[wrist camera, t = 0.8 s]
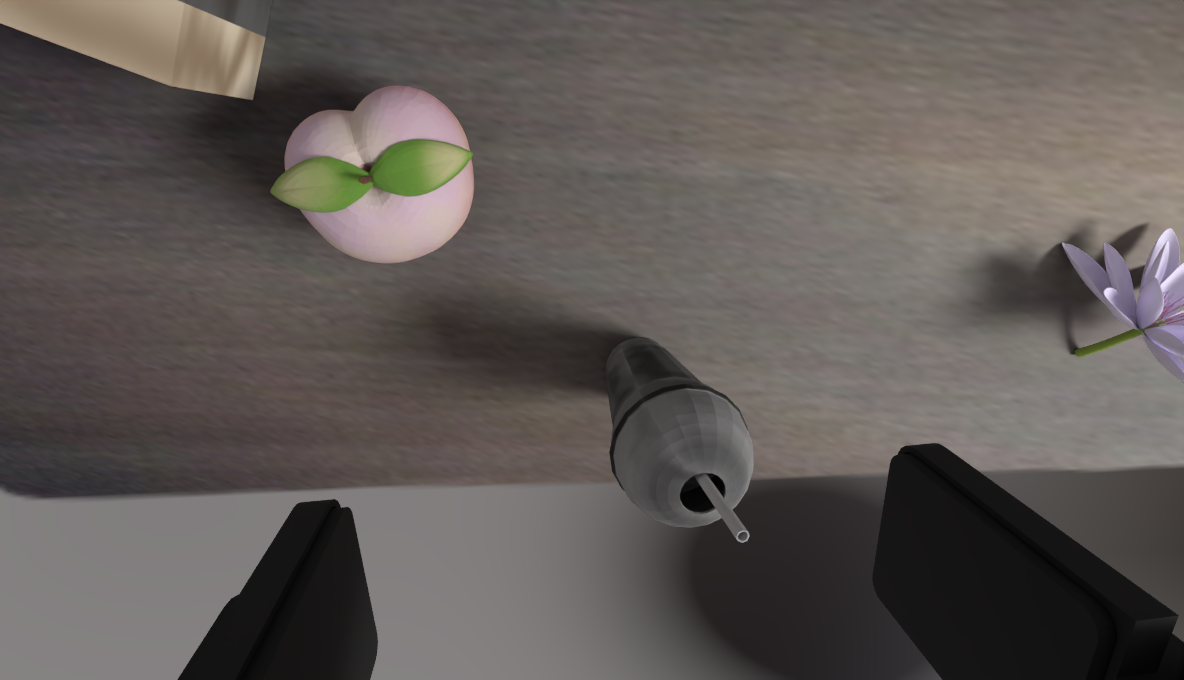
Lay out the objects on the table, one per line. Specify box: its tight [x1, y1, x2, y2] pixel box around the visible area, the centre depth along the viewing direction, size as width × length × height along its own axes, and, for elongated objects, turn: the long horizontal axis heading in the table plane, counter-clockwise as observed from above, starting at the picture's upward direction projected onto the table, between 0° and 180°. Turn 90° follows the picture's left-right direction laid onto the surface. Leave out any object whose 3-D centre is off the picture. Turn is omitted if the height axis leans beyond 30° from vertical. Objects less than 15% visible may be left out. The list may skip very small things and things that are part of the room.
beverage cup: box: [605, 337, 754, 543], centre depth 31 cm, size 7×7×20 cm
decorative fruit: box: [270, 85, 474, 263], centre depth 30 cm, size 9×8×10 cm
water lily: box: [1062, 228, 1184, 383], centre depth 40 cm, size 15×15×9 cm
